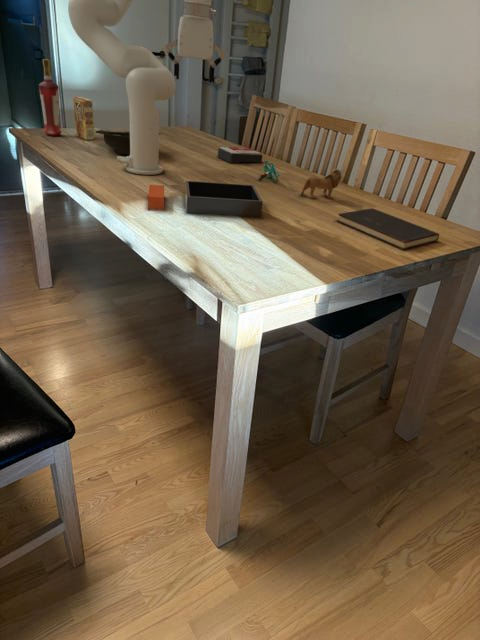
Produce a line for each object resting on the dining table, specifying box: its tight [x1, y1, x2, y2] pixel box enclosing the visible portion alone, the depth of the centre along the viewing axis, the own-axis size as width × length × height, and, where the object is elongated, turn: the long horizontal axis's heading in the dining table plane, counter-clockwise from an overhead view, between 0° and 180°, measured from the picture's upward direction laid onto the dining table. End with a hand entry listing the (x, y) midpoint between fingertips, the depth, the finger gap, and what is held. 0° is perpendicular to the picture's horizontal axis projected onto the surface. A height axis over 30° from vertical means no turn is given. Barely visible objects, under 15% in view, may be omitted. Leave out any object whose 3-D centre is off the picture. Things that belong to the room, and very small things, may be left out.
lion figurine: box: [299, 168, 343, 200], centre depth 155 cm, size 15×5×9 cm, turn 116°
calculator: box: [217, 146, 263, 164], centre depth 193 cm, size 11×4×15 cm
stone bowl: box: [94, 129, 162, 156], centre depth 186 cm, size 25×25×9 cm
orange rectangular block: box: [147, 184, 165, 211], centre depth 133 cm, size 4×12×4 cm, turn 7°
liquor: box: [38, 58, 62, 137], centre depth 192 cm, size 7×7×28 cm
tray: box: [184, 180, 264, 219], centre depth 136 cm, size 21×17×5 cm
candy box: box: [72, 96, 96, 141], centre depth 197 cm, size 9×4×15 cm, turn 44°
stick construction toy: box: [258, 159, 281, 183], centre depth 170 cm, size 12×7×8 cm
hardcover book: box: [336, 207, 440, 251], centre depth 133 cm, size 16×23×2 cm
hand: (193, 80), depth 141 cm, fingers open, 9 cm apart
